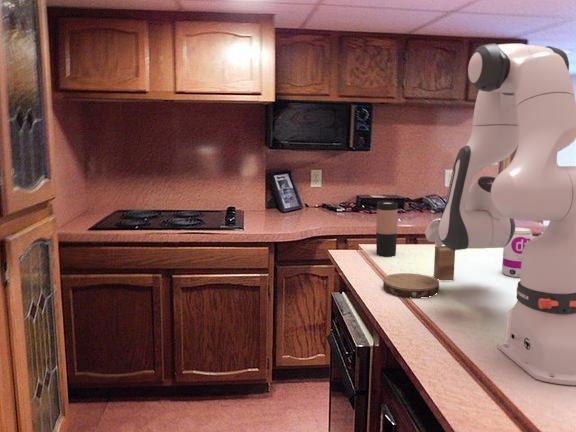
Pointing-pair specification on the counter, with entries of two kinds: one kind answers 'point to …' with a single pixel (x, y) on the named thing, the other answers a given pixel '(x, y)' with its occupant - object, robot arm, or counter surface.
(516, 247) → the supplement can
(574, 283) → the robot arm
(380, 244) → the travel mug
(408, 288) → the wood slice
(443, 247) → the walnut block
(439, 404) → the counter surface
